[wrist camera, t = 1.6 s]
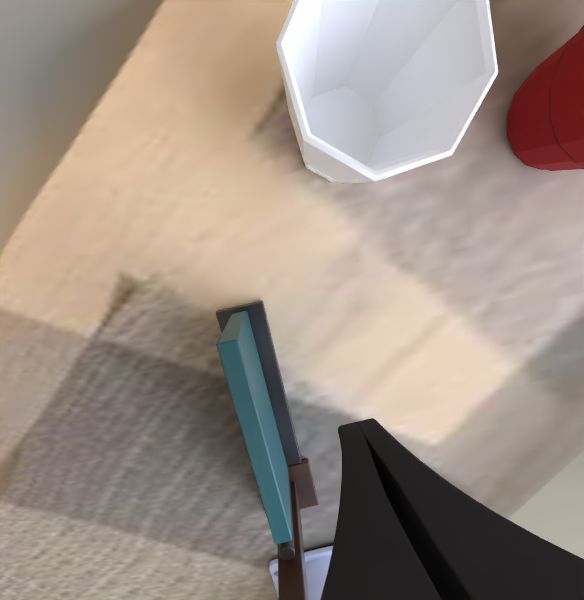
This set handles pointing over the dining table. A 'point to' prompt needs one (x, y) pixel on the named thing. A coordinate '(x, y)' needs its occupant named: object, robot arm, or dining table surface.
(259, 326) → the door frame
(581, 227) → the dining table surface
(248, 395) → the door
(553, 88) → the plastic cup
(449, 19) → the cup
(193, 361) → the dining table surface
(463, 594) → the robot arm
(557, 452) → the dining table surface
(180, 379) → the dining table surface
